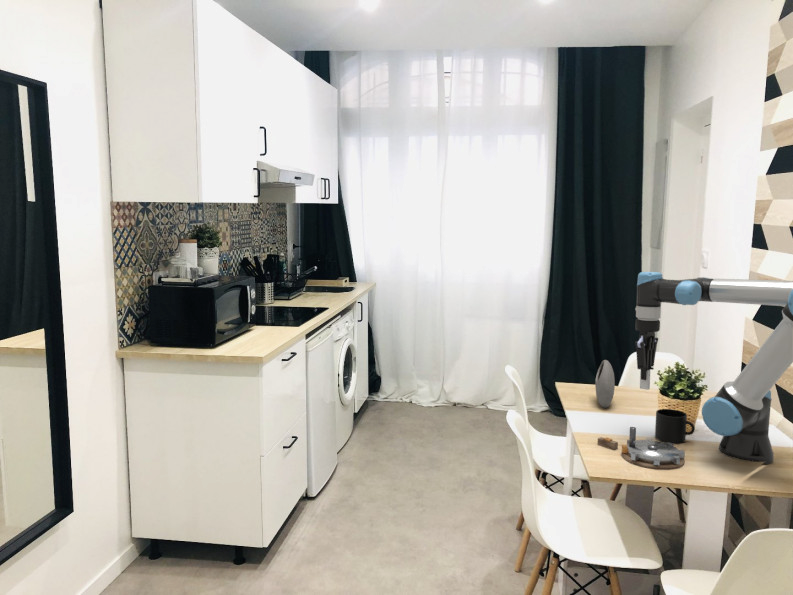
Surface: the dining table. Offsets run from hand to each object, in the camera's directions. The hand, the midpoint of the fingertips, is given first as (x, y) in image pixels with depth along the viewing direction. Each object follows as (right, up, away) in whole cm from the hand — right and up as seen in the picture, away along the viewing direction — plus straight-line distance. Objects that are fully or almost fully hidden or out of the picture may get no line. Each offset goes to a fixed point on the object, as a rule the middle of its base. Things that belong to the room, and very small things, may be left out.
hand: (644, 388), depth 209 cm
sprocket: (-4, -18, -16) cm, 24 cm away
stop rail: (-15, -18, -7) cm, 24 cm away
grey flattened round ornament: (-1, -13, +38) cm, 40 cm away
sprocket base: (-4, -19, -16) cm, 25 cm away
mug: (+10, -17, +1) cm, 20 cm away
